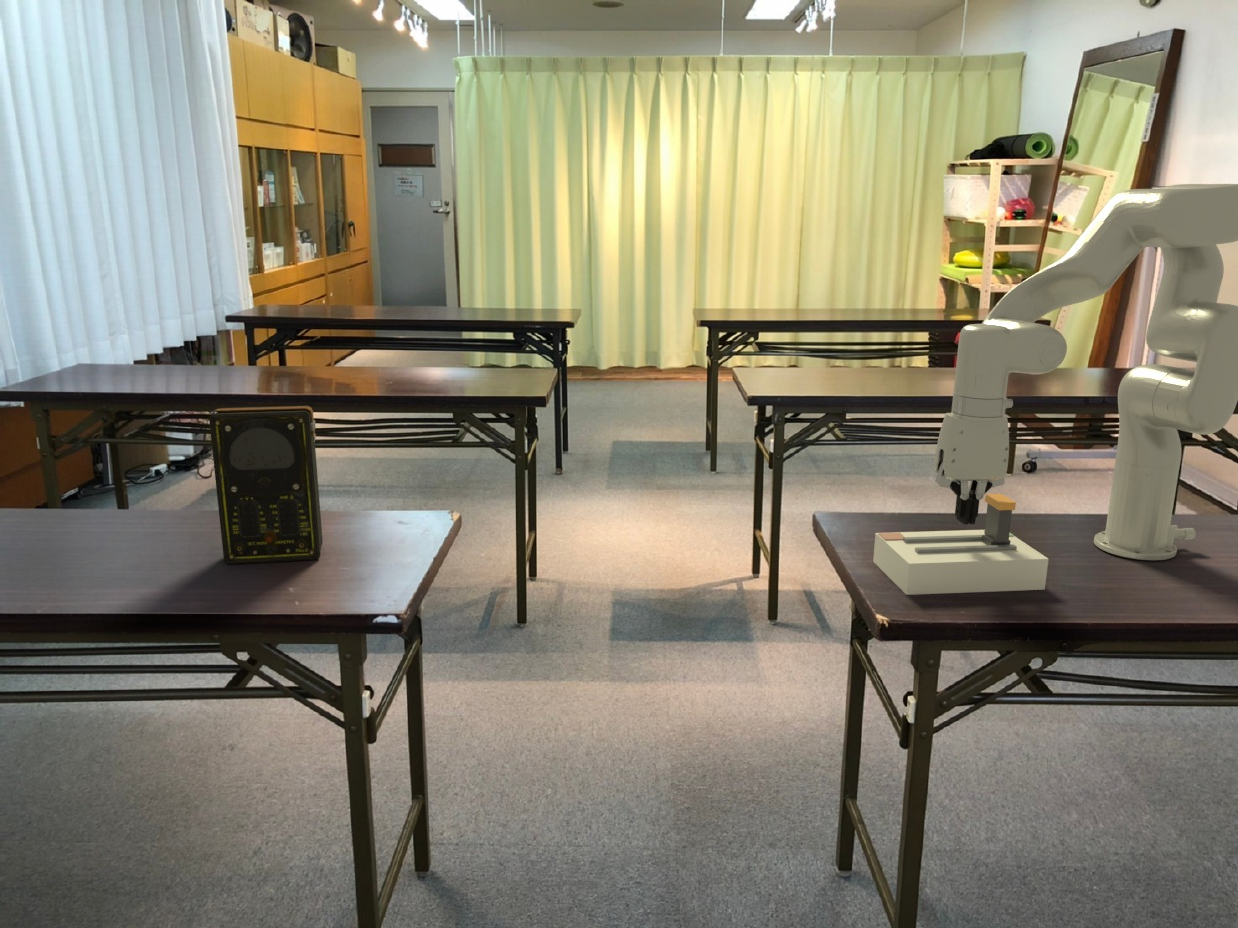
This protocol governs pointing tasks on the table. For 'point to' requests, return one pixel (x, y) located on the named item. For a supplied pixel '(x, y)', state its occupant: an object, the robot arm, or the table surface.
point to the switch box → (958, 562)
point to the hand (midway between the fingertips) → (965, 521)
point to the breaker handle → (998, 519)
